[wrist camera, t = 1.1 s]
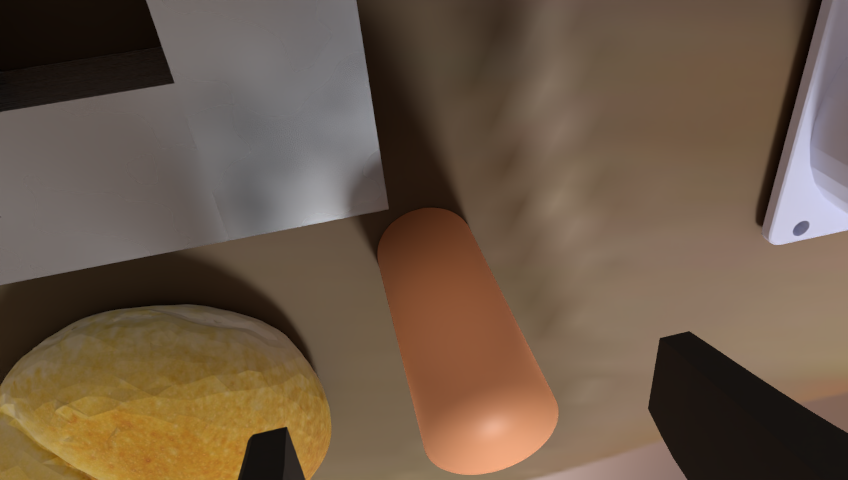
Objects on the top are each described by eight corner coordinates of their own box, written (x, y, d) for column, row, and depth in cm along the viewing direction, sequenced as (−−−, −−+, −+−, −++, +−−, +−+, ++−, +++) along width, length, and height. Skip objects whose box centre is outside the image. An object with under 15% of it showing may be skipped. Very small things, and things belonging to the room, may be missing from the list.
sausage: (470, 198, 16) (560, 365, 11) (474, 278, 17) (556, 455, 12) (369, 218, 15) (416, 398, 10) (384, 297, 17) (430, 487, 12)
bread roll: (376, 367, 18) (399, 481, 15) (201, 525, 21) (188, 653, 18) (119, 225, 14) (75, 341, 11) (-63, 444, 17) (-144, 593, 13)
